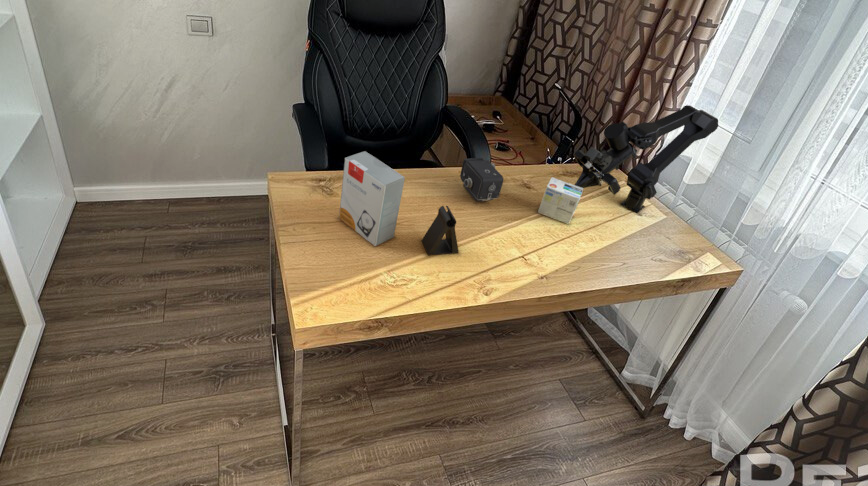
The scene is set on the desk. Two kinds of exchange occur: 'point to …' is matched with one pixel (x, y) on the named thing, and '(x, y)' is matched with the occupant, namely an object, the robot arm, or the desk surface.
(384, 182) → the hard drive box
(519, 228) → the desk surface
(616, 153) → the robot arm
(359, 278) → the desk surface
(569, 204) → the light bulb box
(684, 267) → the desk surface
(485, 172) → the camera
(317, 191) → the desk surface
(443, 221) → the phone stand
